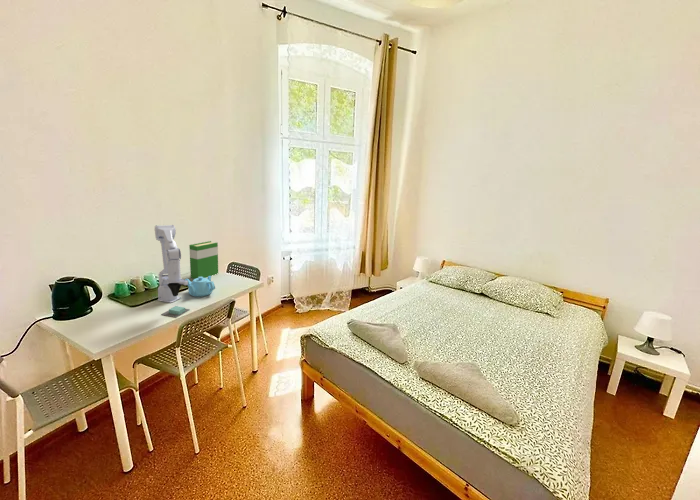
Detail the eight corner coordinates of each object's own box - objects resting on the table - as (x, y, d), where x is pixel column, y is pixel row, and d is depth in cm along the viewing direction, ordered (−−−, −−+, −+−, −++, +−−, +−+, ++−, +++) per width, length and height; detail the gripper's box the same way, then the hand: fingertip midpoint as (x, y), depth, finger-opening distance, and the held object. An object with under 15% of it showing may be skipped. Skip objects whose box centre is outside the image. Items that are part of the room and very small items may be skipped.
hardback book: (211, 271, 237) (210, 241, 231) (218, 273, 234) (217, 242, 228) (190, 277, 221) (189, 244, 216) (198, 280, 218) (196, 246, 213)
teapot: (188, 299, 186) (188, 282, 184) (185, 290, 198) (184, 274, 196) (216, 295, 195) (215, 279, 192) (211, 287, 207) (210, 272, 204)
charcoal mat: (161, 314, 165) (161, 314, 165) (175, 307, 174) (175, 306, 174) (176, 317, 163) (176, 316, 163) (189, 310, 173) (189, 309, 173)
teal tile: (168, 309, 166) (178, 311, 165) (175, 305, 171) (185, 307, 170) (168, 313, 167) (178, 314, 166) (175, 309, 171) (185, 311, 170)
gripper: (156, 271, 161) (157, 296, 164) (180, 275, 158) (182, 300, 161) (166, 268, 168) (168, 291, 171) (190, 271, 165) (191, 295, 168)
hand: (175, 295), depth 167 cm, fingers closed
